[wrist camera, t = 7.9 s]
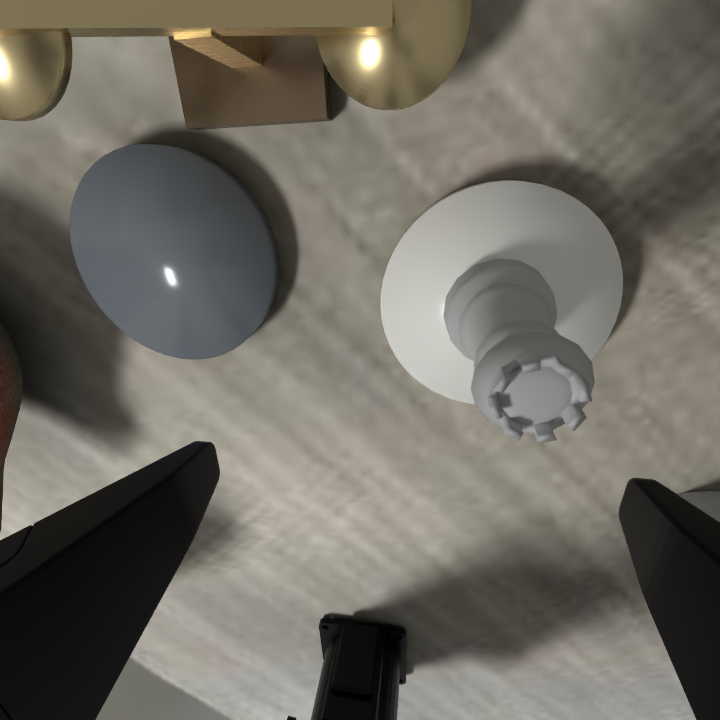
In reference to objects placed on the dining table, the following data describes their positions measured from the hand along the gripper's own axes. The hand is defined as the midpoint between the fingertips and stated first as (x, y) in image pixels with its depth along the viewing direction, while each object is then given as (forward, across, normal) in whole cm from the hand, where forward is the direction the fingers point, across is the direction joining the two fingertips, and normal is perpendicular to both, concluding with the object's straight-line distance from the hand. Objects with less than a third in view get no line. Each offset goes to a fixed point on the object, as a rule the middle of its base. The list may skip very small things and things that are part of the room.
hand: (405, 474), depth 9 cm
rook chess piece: (+11, -3, 0) cm, 11 cm away
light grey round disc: (+12, -3, -1) cm, 12 cm away
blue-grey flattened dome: (+12, +12, -2) cm, 17 cm away
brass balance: (+12, +7, -10) cm, 17 cm away
